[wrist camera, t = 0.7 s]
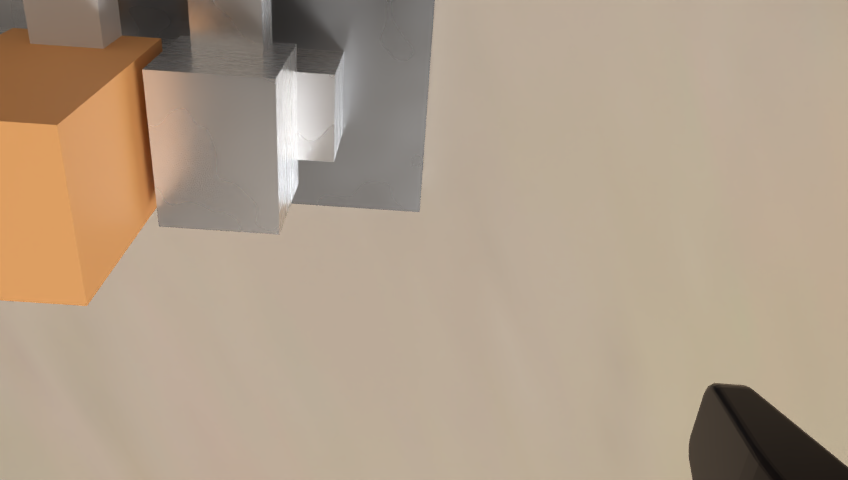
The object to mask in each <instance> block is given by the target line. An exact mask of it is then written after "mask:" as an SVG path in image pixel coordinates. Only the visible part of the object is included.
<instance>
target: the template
mask: <svg viewBox="0 0 848 480" xmlns="http://www.w3.org/2000/svg"><path fill="white" fill-rule="evenodd" d="M434 1H435V0H118V7H119V15H120V24H121V32H122V36H135V37H150V38H161V39H162V50H163V51H162V52H161V53H160V54H159V55H158V56H157V57H156V58H155V59H153V60H152V61H151V62H150V63H149V64H148V65H147V66H145V67H144V68H143V69H142V73H143V82H144V91H145V101H146V110H147V119H148V129H149V138H150V147H151V157H152V166H153V175H154V185H155V194H156V204H157V213H158V222H159V226H160V227H175V228H190V229H205V230H220V231H235V232H250V233H265V234H280V231H281V229H282V226H283V223H284V221H285V218H286V215H287V213H288V210H289V207H290V205H291V203H293V204H308V205H323V206H338V207H353V208H368V209H383V210H398V211H412V212H420V198H421V184H422V170H423V155H424V141H425V127H426V113H427V99H428V85H429V71H430V57H431V43H432V29H433V15H434ZM12 28H22V29H28V28H27V22H26V17H25V11H24V5H23V0H0V34H2V33H4V32H6V31H8V30H10V29H12Z"/></svg>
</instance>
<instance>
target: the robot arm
mask: <svg viewBox="0 0 848 480" xmlns="http://www.w3.org/2000/svg"><path fill="white" fill-rule="evenodd" d="M689 461H690V467H691V473H692V479H693V480H848V467H847V466H846V465H845V464H843V463H842V462H841V461H840V460H839V459H837V458H836V457H835V456H834V455H832V454H831V453H830V452H829V451H828V450H826V449H825V448H824V447H823V446H821V445H820V444H819V443H818V442H816V441H815V440H814V439H813V438H812V437H810V436H809V435H808V434H807V433H805V432H804V431H803V430H802V429H801V428H799V427H798V426H797V425H796V424H794V423H793V422H792V421H791V420H789V419H788V418H787V417H786V416H785V415H783V414H782V413H781V412H780V411H778V410H777V409H776V408H775V407H774V406H772V405H771V404H770V403H769V402H767V401H766V400H765V399H764V398H762V397H761V396H760V395H759V394H758V393H756V392H755V391H754V390H752V389H751V388H750V387H747V386H744V385H734V384H721V383H714V384H712V385H710V386H708V388H707V389H706V391H705V393H704V395H703V399H702V402H701V405H700V408H699V411H698V414H697V417H696V420H695V424H694V427H693V430H692V433H691V436H690V441H689Z"/></svg>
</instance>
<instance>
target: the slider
mask: <svg viewBox="0 0 848 480" xmlns="http://www.w3.org/2000/svg"><path fill="white" fill-rule="evenodd" d="M23 5H24V11H25V17H26V22H27V28H28V29H22V28H12V29H10V30H8V31H6V32H4V33H2V34H0V300H5V301H20V302H36V303H51V304H66V305H82V306H87V305H88V304H89V302H90V301H91V299H92V298H93V297H94V295H95V294H96V292H97V291H98V290H99V288H100V287H101V285H102V284H103V282H104V281H105V280H106V278H107V277H108V275H109V274H110V273H111V271H112V270H113V268H114V267H115V266H116V264H117V263H118V261H119V260H120V258H121V257H122V256H123V254H124V253H125V251H126V250H127V249H128V247H129V246H130V244H131V243H132V241H133V240H134V239H135V237H136V236H137V234H138V233H139V232H140V230H141V229H142V227H143V226H144V224H145V223H146V222H147V220H148V219H149V217H150V216H151V215H152V213H153V212H154V210H155V209H156V208H157V204H156V194H155V185H154V175H153V166H152V157H151V147H150V138H149V129H148V119H147V110H146V101H145V91H144V82H143V73H142V69H143V68H144V67H145V66H147V65H148V64H149V63H150V62H151V61H152V60H153V59H155V58H156V57H157V56H158V55H159V54H160V53H161V52H162V51H163V50H162V39H161V38H150V37H135V36H122V32H121V24H120V15H119V7H118V0H23Z"/></svg>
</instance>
